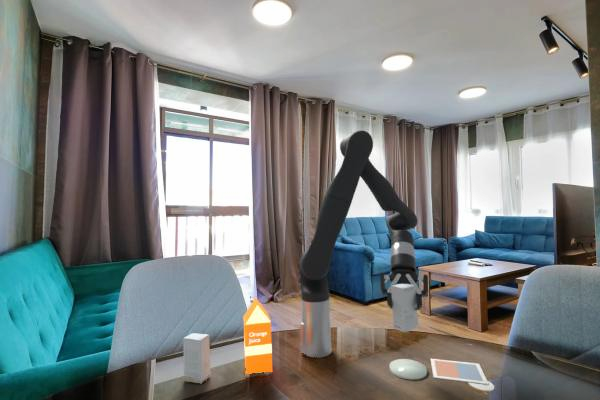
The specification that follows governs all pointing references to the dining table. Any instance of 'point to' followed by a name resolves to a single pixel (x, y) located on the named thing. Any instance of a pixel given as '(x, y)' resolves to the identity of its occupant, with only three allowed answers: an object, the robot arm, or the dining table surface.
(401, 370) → the coaster
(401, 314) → the skincare box
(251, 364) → the orange juice
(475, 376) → the blue and orange card
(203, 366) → the skincare box
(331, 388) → the dining table surface
